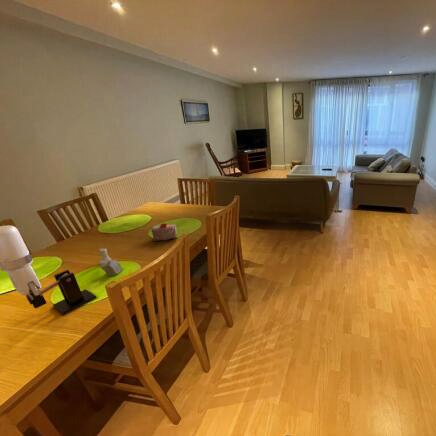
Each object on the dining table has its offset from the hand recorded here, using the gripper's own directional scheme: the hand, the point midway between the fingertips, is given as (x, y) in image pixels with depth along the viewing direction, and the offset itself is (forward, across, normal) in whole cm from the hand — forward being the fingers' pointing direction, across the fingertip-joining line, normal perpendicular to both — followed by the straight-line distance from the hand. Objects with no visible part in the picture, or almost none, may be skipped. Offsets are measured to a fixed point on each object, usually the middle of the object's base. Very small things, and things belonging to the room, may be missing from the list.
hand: (38, 303), depth 88 cm
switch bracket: (+7, 0, +9) cm, 12 cm away
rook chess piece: (+8, -22, +31) cm, 39 cm away
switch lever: (-2, 0, +5) cm, 5 cm away
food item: (+8, -20, +64) cm, 68 cm away
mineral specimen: (+7, -8, +27) cm, 29 cm away
